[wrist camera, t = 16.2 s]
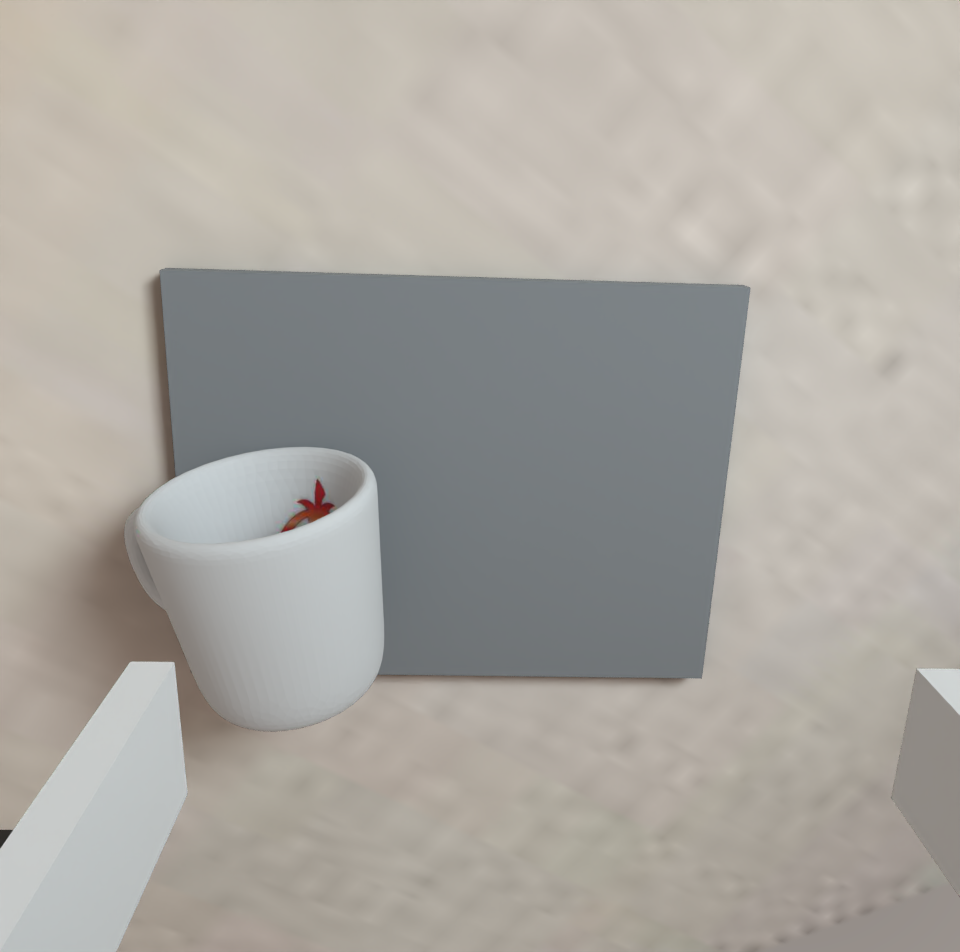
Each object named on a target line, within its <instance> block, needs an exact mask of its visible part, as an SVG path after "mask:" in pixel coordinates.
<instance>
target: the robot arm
mask: <svg viewBox="0 0 960 952" xmlns="http://www.w3.org/2000/svg"><path fill="white" fill-rule="evenodd" d="M187 794H188V791H187V781H186V771H185V761H184V752H183V742H182V732H181V722H180V712H179V702H178V692H177V682H176V672H175V662H130V663H129V664H128V666H127V667H126V669H125V670H124V671H123V673H122V674H121V676H120V677H119V679H118V680H117V682H116V683H115V684H114V686H113V687H112V689H111V690H110V692H109V693H108V694H107V696H106V697H105V699H104V700H103V702H102V703H101V705H100V706H99V707H98V709H97V710H96V712H95V713H94V715H93V716H92V718H91V719H90V720H89V722H88V723H87V725H86V726H85V728H84V729H83V730H82V732H81V733H80V735H79V736H78V738H77V739H76V741H75V742H74V743H73V745H72V746H71V748H70V749H69V751H68V752H67V753H66V755H65V756H64V758H63V759H62V761H61V762H60V764H59V765H58V766H57V768H56V769H55V771H54V772H53V774H52V775H51V776H50V778H49V779H48V781H47V782H46V784H45V785H44V787H43V788H42V789H41V791H40V792H39V794H38V795H37V797H36V798H35V799H34V801H33V802H32V804H31V805H30V807H29V808H28V810H27V811H26V812H25V814H24V815H23V817H22V818H21V820H20V821H19V823H18V824H17V825H16V827H15V828H14V830H0V952H116V951H117V949H118V947H119V945H120V942H121V940H122V938H123V936H124V934H125V931H126V929H127V927H128V925H129V923H130V920H131V918H132V916H133V914H134V912H135V909H136V907H137V905H138V903H139V900H140V898H141V896H142V894H143V892H144V889H145V887H146V885H147V883H148V881H149V878H150V876H151V874H152V872H153V869H154V867H155V865H156V863H157V861H158V858H159V856H160V854H161V852H162V850H163V847H164V845H165V843H166V841H167V839H168V836H169V834H170V832H171V830H172V827H173V825H174V823H175V821H176V819H177V816H178V814H179V812H180V810H181V808H182V805H183V803H184V801H185V799H186V797H187ZM891 798H892V800H893V801H894V803H895V804H896V806H897V807H898V809H899V810H900V811H901V813H902V814H903V816H904V817H905V819H906V820H907V822H908V823H909V825H910V826H911V827H912V829H913V830H914V832H915V833H916V835H917V836H918V838H919V839H920V840H921V842H922V843H923V845H924V846H925V848H926V849H927V851H928V852H929V854H930V855H931V856H932V858H933V859H934V861H935V862H936V864H937V865H938V867H939V868H940V870H941V871H942V872H943V874H944V875H945V877H946V878H947V880H948V881H949V883H950V884H951V886H952V887H953V888H954V890H955V891H956V893H957V894H958V896H959V897H960V669H916V674H915V679H914V684H913V689H912V694H911V699H910V704H909V710H908V715H907V720H906V725H905V730H904V735H903V740H902V745H901V750H900V755H899V760H898V765H897V771H896V776H895V781H894V786H893V791H892V796H891Z"/></svg>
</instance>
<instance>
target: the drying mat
mask: <svg viewBox="0 0 960 952" xmlns="http://www.w3.org/2000/svg"><path fill="white" fill-rule="evenodd" d="M160 282H161V295H162V308H163V320H164V333H165V346H166V359H167V372H168V385H169V398H170V411H171V424H172V436H173V449H174V462H175V475H176V477H177V476H179V475H181V474H183V473H185V472H187V471H190V470H192V469H195V468H197V467H200V466H202V465H205V464H207V463H211V462H214V461H217V460H220V459H223V458H227V457H231V456H235V455H239V454H243V453H248V452H254V451H260V450H266V449H275V448H285V447H317V448H327V449H333V450H339V451H342V452H345V453H348V454H351V455H354V456H356V457H358V458H359V459H361V460H362V461H364V462H365V463H366V464H367V465H368V466H369V467H370V469H371V470H372V471H373V473H374V476H375V479H376V482H377V492H378V513H379V533H380V553H381V574H382V594H383V614H384V651H383V658H382V662H381V666H380V669H379V672H378V674H377V675H458V676H542V677H626V678H702V673H703V665H704V657H705V649H706V641H707V633H708V625H709V617H710V609H711V601H712V593H713V585H714V577H715V569H716V561H717V552H718V544H719V536H720V528H721V520H722V512H723V504H724V496H725V488H726V480H727V472H728V464H729V456H730V448H731V440H732V432H733V424H734V416H735V408H736V400H737V392H738V384H739V376H740V368H741V360H742V352H743V344H744V335H745V327H746V319H747V311H748V303H749V295H750V287H747V286H744V285H719V284H685V283H651V282H618V281H584V280H550V279H517V278H483V277H450V276H416V275H382V274H349V273H315V272H281V271H248V270H214V269H181V268H165V269H162V270H160Z"/></svg>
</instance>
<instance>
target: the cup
mask: <svg viewBox="0 0 960 952" xmlns="http://www.w3.org/2000/svg"><path fill="white" fill-rule="evenodd" d="M124 539H125V546H126V550H127V554H128V556H129V559H130V562H131V565H132V568H133V570H134V572H135V574H136V576H137V578H138V580H139V582H140V584H141V585H142V587H143V588H144V590H145V591H146V593H147V594H148V595H149V597H150V598H151V599H152V600H153V601H154V602H155V603H156V604H157V605H159V606H160V607H161V608H163V609H164V610H166V612H167V614H168V617H169V619H170V622H171V624H172V626H173V629H174V631H175V633H176V636H177V638H178V641H179V643H180V645H181V648H182V650H183V653H184V655H185V657H186V660H187V662H188V665H189V667H190V669H191V672H192V674H193V676H194V678H195V681H196V683H197V685H198V687H199V689H200V691H201V693H202V694H203V696H204V698H205V699H206V701H207V702H208V703H209V705H210V706H211V707H212V708H213V710H214V711H216V712H217V713H218V714H219V715H220V716H221V717H223V718H224V719H225V720H227V721H229V722H231V723H233V724H235V725H237V726H240V727H243V728H247V729H251V730H257V731H271V732H275V731H287V730H294V729H299V728H304V727H307V726H311V725H314V724H317V723H320V722H322V721H325V720H327V719H329V718H331V717H333V716H335V715H337V714H339V713H341V712H342V711H344V710H345V709H347V708H348V707H350V706H351V705H353V704H354V703H355V702H356V701H357V700H358V699H360V698H361V697H362V696H363V695H364V693H365V692H366V691H367V690H368V689H369V688H370V686H371V685H372V683H373V682H374V680H375V678H376V676H377V674H378V672H379V669H380V666H381V662H382V658H383V651H384V614H383V594H382V574H381V553H380V533H379V513H378V492H377V482H376V479H375V476H374V473H373V471H372V470H371V469H370V467H369V466H368V465H367V464H366V463H365V462H364V461H362V460H361V459H359V458H358V457H356V456H354V455H351V454H348V453H345V452H342V451H339V450H333V449H327V448H317V447H285V448H275V449H266V450H260V451H254V452H248V453H243V454H239V455H235V456H231V457H227V458H223V459H220V460H217V461H214V462H211V463H207V464H205V465H202V466H200V467H197V468H195V469H192V470H190V471H187V472H185V473H183V474H181V475H179V476H177V477H175V478H173V479H171V480H170V481H168V482H167V483H165V484H163V485H162V486H160V487H159V488H157V489H156V490H155V491H154V492H153V493H152V494H150V495H149V496H148V497H147V498H146V499H145V500H144V501H143V503H142V504H141V506H140V507H139V508H137V509H136V510H135V511H133V512H132V513H131V515H130V516H129V517H128V519H127V520H126V523H125V527H124Z"/></svg>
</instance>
